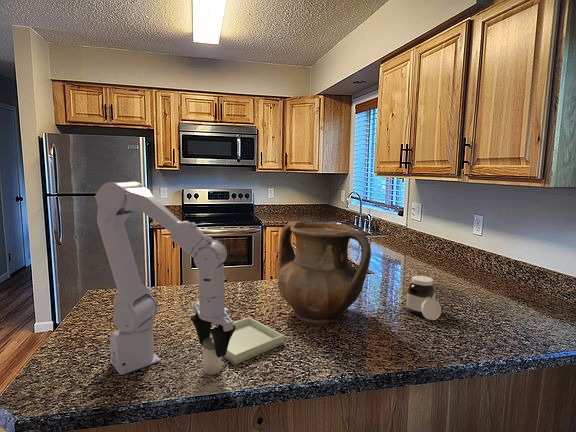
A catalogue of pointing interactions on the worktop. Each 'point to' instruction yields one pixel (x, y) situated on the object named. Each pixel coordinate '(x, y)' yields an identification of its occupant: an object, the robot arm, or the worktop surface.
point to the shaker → (210, 357)
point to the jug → (320, 270)
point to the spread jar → (423, 298)
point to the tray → (251, 340)
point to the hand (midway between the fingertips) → (212, 349)
